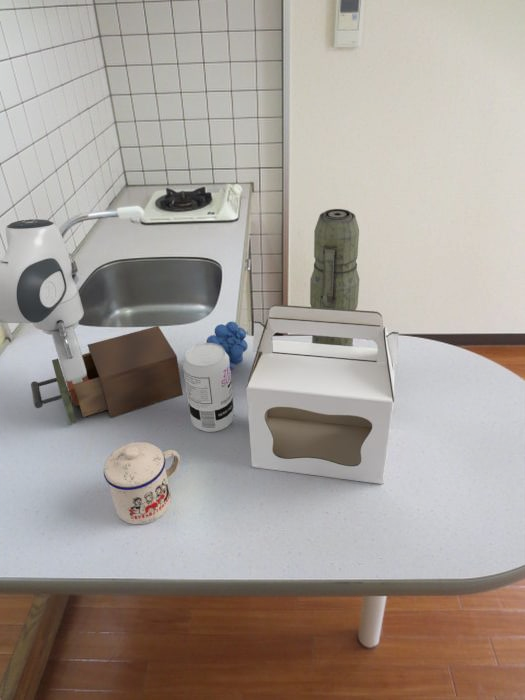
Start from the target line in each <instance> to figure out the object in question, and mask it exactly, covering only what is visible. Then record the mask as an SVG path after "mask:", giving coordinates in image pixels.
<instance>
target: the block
mask: <svg viewBox="0 0 525 700" xmlns="http://www.w3.org/2000/svg"><path fill="white" fill-rule="evenodd" d="M82 380H83V382H84V381H87V380H89V379H88V376H87V375H86V377H84V378H82ZM65 382H66V385H67V388H68V391H69V395H70V398H71V402H72V406H73V407H78V406H80V405H79V402H78V398H77V395H76V392H75V389H74V385H73V383H72V381H66V380H65Z"/></svg>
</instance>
